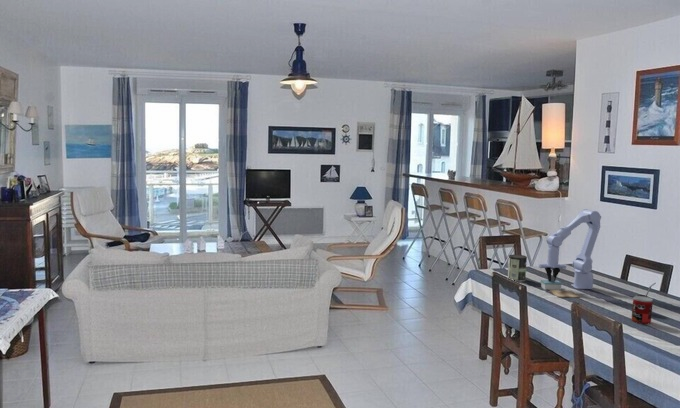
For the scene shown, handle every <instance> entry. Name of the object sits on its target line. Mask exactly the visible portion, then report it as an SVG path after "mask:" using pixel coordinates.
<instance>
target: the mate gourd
mask: <svg viewBox="0 0 680 408" xmlns="http://www.w3.org/2000/svg"><path fill="white" fill-rule="evenodd" d="M656 283H657V282H654V283H652V284H651V285H650V286H649V288H648V290H647V292H646V294H636V295H635V296H643V297H648V298H650V297H649V296H648V294H649V292H650V290H652V287H653V286H654V285H656Z"/></svg>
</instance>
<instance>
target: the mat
mask: <svg viewBox="0 0 680 408" xmlns="http://www.w3.org/2000/svg"><path fill="white" fill-rule="evenodd" d="M549 293H551V294H553V295H554V296H555V297H556V296H557V297H556V298H565V299H566V298H568V299H569V298H572V299H580V298H581V296H580V295H578V294H577V293H576V292H574V291H572V290H565V289H564V290H563V289H561V290H549Z"/></svg>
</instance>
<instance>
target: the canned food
mask: <svg viewBox="0 0 680 408" xmlns="http://www.w3.org/2000/svg"><path fill="white" fill-rule="evenodd" d="M648 297H649V296H648ZM648 297H643V296H636V295H635V296H633V299H632V309H631V321H632V322H633V321H634V322H633V323H636V322H637V324H640V323H645V324H644V325H649V324H651V322H652V313H653V305H654V301H653V298H651V297H649V298H648ZM648 323H649V324H648Z"/></svg>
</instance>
